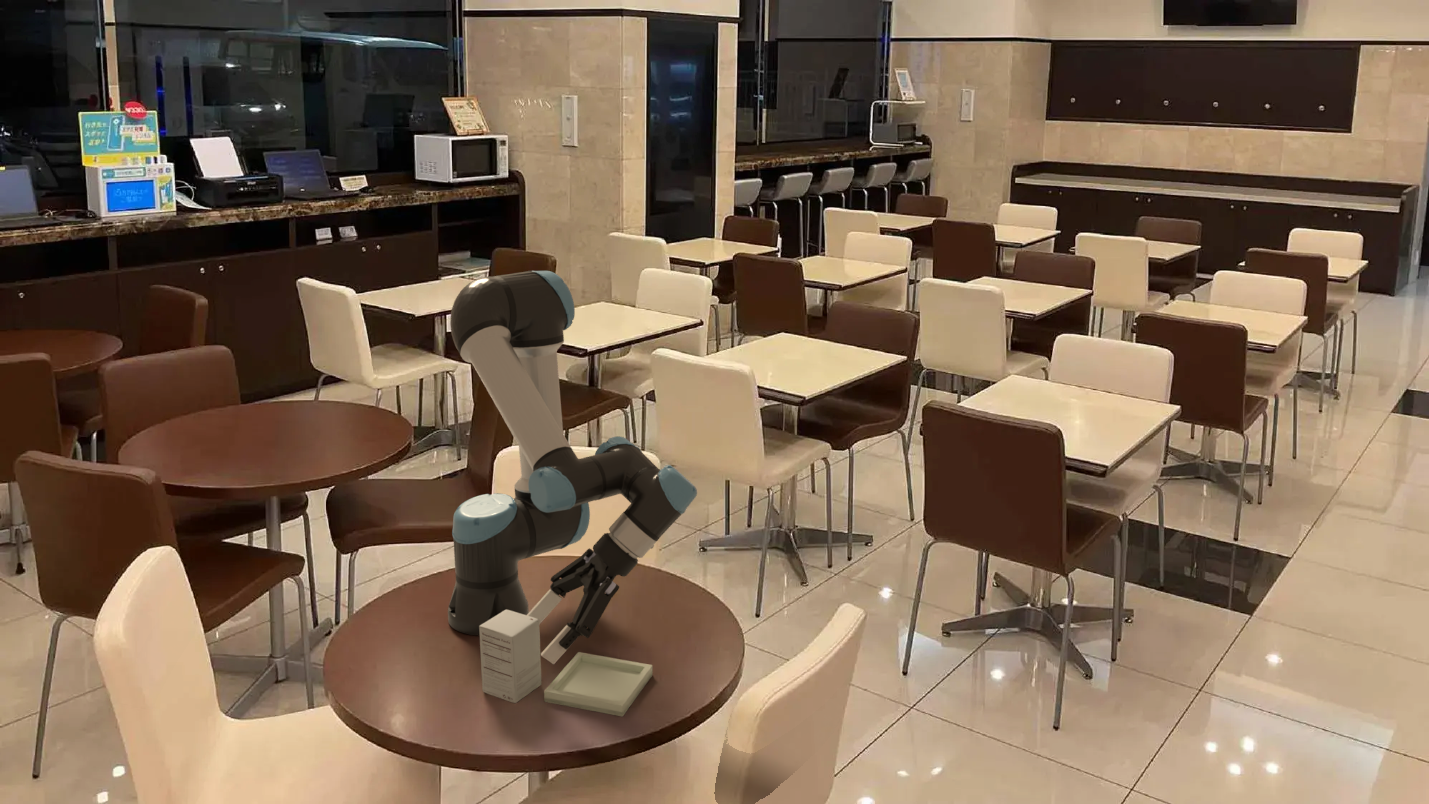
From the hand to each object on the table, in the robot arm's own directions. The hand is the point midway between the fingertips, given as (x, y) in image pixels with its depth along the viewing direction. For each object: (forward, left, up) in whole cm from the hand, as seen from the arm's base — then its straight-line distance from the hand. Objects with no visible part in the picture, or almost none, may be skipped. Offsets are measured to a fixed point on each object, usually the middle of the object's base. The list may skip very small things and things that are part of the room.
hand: (538, 640), depth 198 cm
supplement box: (-5, -1, -10) cm, 11 cm away
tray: (+9, +4, -9) cm, 14 cm away
